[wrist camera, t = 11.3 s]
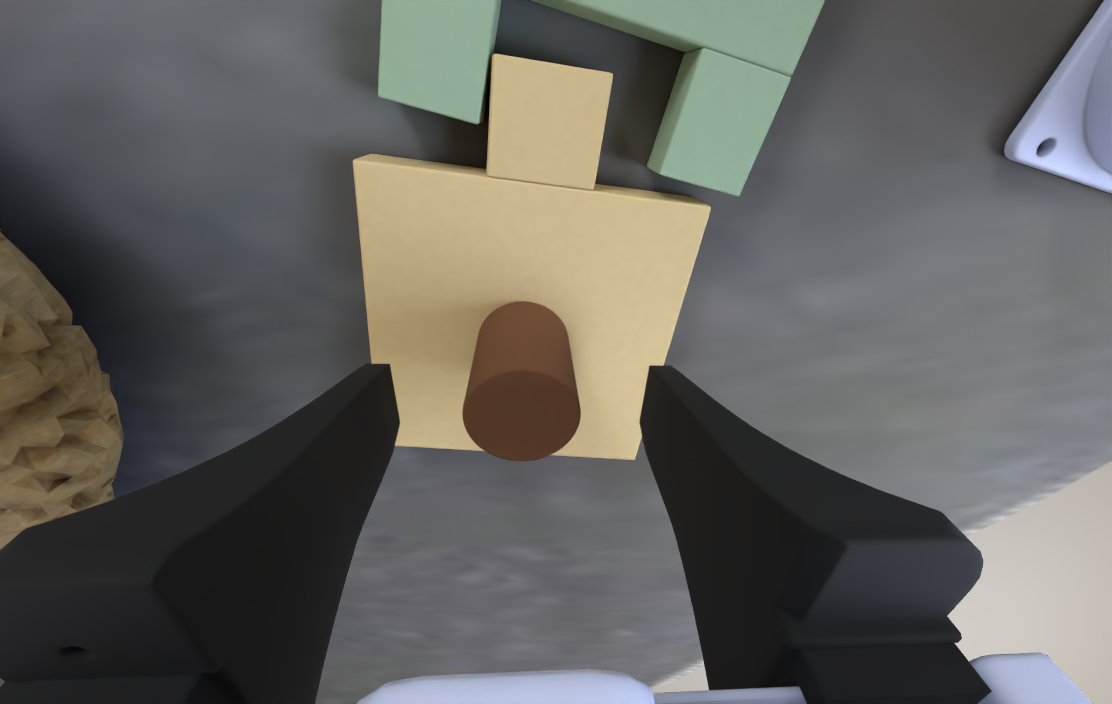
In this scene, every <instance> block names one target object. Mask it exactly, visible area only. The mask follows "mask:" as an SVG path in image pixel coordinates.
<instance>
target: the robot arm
mask: <svg viewBox="0 0 1112 704" xmlns="http://www.w3.org/2000/svg"><path fill="white" fill-rule="evenodd" d="M1041 143H1042V145H1041V147H1040V148H1039V150H1038V151H1037V148H1038V146H1039V145H1040V144H1041ZM1004 153H1005V157H1007V158H1008V159H1010V160H1013V161H1016V162H1019V163H1022V164H1025V165H1028V166H1031V167H1034V168H1037V169H1040V170H1043V171H1046V172H1049V173H1052V174H1055V175H1058V176H1061V177H1064V178H1067V179H1070V180H1073V181H1076V182H1079V183H1082V184H1085V185H1088V186H1091V187H1094V188H1097V189H1100V190H1103V191H1106V192H1109V193H1111V194H1112V0H1104V1H1103V2H1102V4H1101V5H1100V7H1099V8H1098V10H1097V11H1096V13H1095V14H1094V15H1093V17H1092V18H1091V20H1090V21H1089V23H1088V24H1087V26H1086V27H1085V28H1084V30H1083V31H1082V33H1081V34H1080V36H1079V37H1078V39H1077V40H1076V41H1075V43H1074V44H1073V46H1072V47H1071V49H1070V50H1069V51H1068V53H1067V54H1066V56H1065V57H1064V59H1063V60H1062V62H1061V63H1060V64H1059V66H1058V67H1057V69H1056V70H1055V72H1054V73H1053V75H1052V76H1051V77H1050V79H1049V80H1048V82H1047V83H1046V85H1045V86H1044V88H1043V89H1042V90H1041V92H1040V93H1039V95H1038V96H1037V98H1036V99H1035V101H1034V102H1033V103H1032V105H1031V106H1030V108H1029V109H1028V111H1027V112H1026V114H1025V115H1024V116H1023V118H1022V119H1021V121H1020V122H1019V124H1018V125H1017V126H1016V128H1015V129H1014V131H1013V132H1012V134H1011V135H1010V137H1009V138H1008V140H1007V142H1006V144H1005V148H1004ZM639 423H640V428H641V433H642V438H643V443H644V447H645V451H646V455H647V457H648V460H649V463H650V466H651V469H652V471H653V474H654V477H655V480H656V482H657V485H658V488H659V490H660V493H661V496H662V498H663V501H664V504H665V507H666V509H667V512H668V515H669V517H670V520H671V523H672V526H673V529H674V533H675V536H676V540H677V544H678V548H679V552H680V555H681V559H682V563H683V567H684V571H685V576H686V580H687V584H688V589H689V593H690V597H691V602H692V606H693V611H694V615H695V620H696V625H697V630H698V635H699V640H700V644H701V649H702V654H703V660H704V665H705V670H706V676H707V681H708V686H709V691H687V692H665V693H653V692H652V689H651V688H650V687H649V686H647V685H646V684H645V683H644V682H642V681H640V680H638V679H636V678H634V677H632V676H630V675H628V674H626V673H624V672H619V671H608V670H598V669H575V670H551V671H528V672H504V673H481V674H457V675H433V676H420V677H414V678H408V679H403V680H397V681H391V682H388V683H386V684H385V685H383V686H381V687H380V688H378V689H376V690H375V691H373V692H371V693H369V694H368V695H366V696H365V697H364V698H363V699H361V700H360V701H359V702H357V704H1093V703H1092V702H1091V701H1090V700H1089V699H1088V698H1087V697H1086V696H1085V695H1084V694H1083V693H1082V692H1081V691H1080V689H1078V687H1077V686H1076V685H1075V684H1074V683H1073V682H1072V681H1071V680H1070V679H1069V678H1068V677H1067V676H1066V675H1065V673H1064V672H1063V671H1062V670H1061V669H1060V668H1059V667H1058V666H1057V665H1056V664H1055V663H1054V662H1053V661H1052V660H1051V658H1050V657H1049V656H1048V655H1045V654H1042V653H1019V654H998V655H997V654H995V655H986V656H981V657H978V658H976V659H973V660H971V661H968V660H967V659H966V657H965V656H964V655H963V654H962V652H961V651H960V650H959V649H958V647H957V646H956V645H955V643H958V642H959V641H960V640H961V639H962V637H961V633H960V632H959V630H958V629H957V628H956V627H955V625H954V624H953V623H952V622H951V621H950V620H949V618H948V617H947V615H948V614H949V613H950V612H951V611H952V610H953V609H954V608H955V606H956V605H957V604H958V603H959V602H960V601H961V600H962V599H963V598H964V597H965V596H966V594H967V593H968V592H969V591H970V590H971V589H972V588H973V586H974V585H975V583H976V582H977V580H978V579H979V578H980V575H981V571H982V567H983V558H982V555H981V552H980V551H979V550H978V549H977V548H976V547H975V546H974V545H973V543H972V542H971V541H969V539H968V538H967V537H966V536H965V535H964V534H963V533H962V532H961V531H960V530H959V529H958V528H957V527H956V526H955V525H954V524H953V523H952V522H951V521H950V520H949V519H948V518H947V517H946V516H945V515H944V514H943V513H942V512H940V511H938V510H935V509H932V508H929V507H926V506H923V505H920V504H917V503H915V502H912V501H909V500H906V499H903V498H900V497H897V496H894V495H892V494H889V493H886V492H883V491H881V490H878V489H875V488H873V487H871V486H868V485H866V484H863V483H861V482H858V481H856V480H853V479H851V478H849V477H846V476H844V475H842V474H840V473H837V472H835V471H833V470H831V469H828V468H826V467H824V466H822V465H820V464H818V463H816V462H814V461H812V460H810V459H808V458H806V457H804V456H802V455H800V454H798V453H796V452H794V451H792V450H791V449H789V448H787V447H785V446H783V445H782V444H780V443H778V442H777V441H775V440H773V439H771V438H770V437H768V436H766V435H765V434H763V433H761V432H760V431H758V430H757V429H755V428H753V427H752V426H750V425H749V424H747V423H746V422H745V421H743V420H742V419H740V418H739V417H737V416H736V415H734V414H733V413H732V412H730V411H729V410H727V409H726V408H725V407H723V406H722V405H721V404H719V403H718V402H717V401H715V400H714V399H713V398H712V397H710V396H709V395H708V394H706V393H705V392H704V391H703V390H701V389H700V388H699V387H698V386H696V385H695V384H694V383H693V382H691V381H690V380H689V379H688V378H686V377H685V376H684V375H683V374H681V373H680V372H679V371H677V370H676V369H675V368H673V367H672V366H661V365H649V370H648V376H647V381H646V387H645V393H644V398H643V404H642V409H641V415H640V420H639ZM399 426H400V418H399V412H398V407H397V401H396V395H395V390H394V384H393V379H392V373H391V367H390V364H371V363H367V364H365V365H364V366H362V367H360V368H359V369H357V370H356V371H355V372H353V373H352V374H350V375H349V376H347V377H346V378H345V379H343V380H342V381H340V382H339V383H338V384H336V385H335V386H333V387H332V388H331V389H329V390H328V391H326V392H325V393H324V394H322V395H321V396H319V397H318V398H316V399H315V400H314V401H312V402H311V403H309V404H308V405H306V406H305V407H303V408H301V409H300V410H298V411H297V412H295V413H294V414H292V415H291V416H289V417H287V418H286V419H284V420H283V421H281V422H280V423H278V424H276V425H275V426H273V427H271V428H270V429H268V430H266V431H265V432H263V433H261V434H259V435H258V436H256V437H254V438H252V439H250V440H248V441H246V442H245V443H243V444H241V445H239V446H237V447H235V448H233V449H231V450H229V451H227V452H225V453H223V454H221V455H219V456H217V457H214V458H212V459H210V460H208V461H206V462H204V463H201V464H199V465H197V466H195V467H193V468H191V469H188V470H186V471H184V472H182V473H180V474H177V475H175V476H173V477H170V478H168V479H165V480H163V481H160V482H158V483H155V484H153V485H150V486H148V487H145V488H143V489H140V490H137V491H135V492H132V493H130V494H127V495H124V496H122V497H119V498H116V499H113V500H111V501H108V502H105V503H102V504H99V505H96V506H93V507H90V508H87V509H84V510H81V511H78V512H75V513H72V514H69V515H66V516H63V517H60V518H57V519H54V520H51V521H48V522H45V523H41V524H38V525H35V526H32V527H28V528H26V529H24V530H23V531H22V532H20V533H19V534H18V535H17V536H16V537H15V538H13V539H12V540H11V541H10V542H9V543H8V544H6V545H5V546H4V547H3V548H2V549H1V550H0V678H1V679H3V680H4V681H6V682H5V683H4V684H3V685H2V686H1V687H0V704H315V700H316V696H317V691H318V687H319V682H320V678H321V673H322V669H323V665H324V661H325V657H326V653H327V649H328V645H329V641H330V637H331V633H332V629H333V624H334V620H335V617H336V613H337V609H338V606H339V602H340V598H341V595H342V591H343V587H344V584H345V580H346V577H347V573H348V570H349V566H350V563H351V560H352V556H353V553H354V550H355V546H356V543H357V540H358V537H359V535H360V532H361V529H362V526H363V524H364V522H365V519H366V517H367V514H368V512H369V510H370V507H371V505H372V502H373V500H374V498H375V495H376V493H377V490H378V488H379V486H380V483H381V481H382V478H383V476H384V474H385V471H386V469H387V466H388V464H389V461H390V459H391V456H392V453H393V450H394V446H395V442H396V439H397V434H398V430H399Z"/></svg>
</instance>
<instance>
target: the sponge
mask: <svg viewBox="0 0 1112 704" xmlns="http://www.w3.org/2000/svg"><path fill="white" fill-rule="evenodd" d="M123 439H124V433H123V429H122V426H121V422H120V418H119V412H118V407H117V402H116V400H115V399H114V397H113V395H112V393H111V391H110V379H109V374H108V373H106V372H103V371H101V369H100V366H99V362H98V359H97V350H96V348H95V347H94V345H93V344H92V342H91V340H90V339H89V337H88V336H87V334H86V332H85V331H84V329H83V327H82V326H75V325H72V311H71V309H70V307H69V306H68V304H67V303H66V301H65V299H64V298H63V297H62V296H61V295H60V293H59V292H58V291H57V290H56V289H55V288H54V287H53V286H52V285H51V284H50V282H49V281H48V280H47V279H46V278H45V276H44V275H43V274H42V273H41V271H40V270H39V269H38V268H37V266H36V265H35V264H34V263H33V262H31V261H30V260H29V259H27V257H26V256H25V255H24V254H23V253H22V252H21V251H20V250H19V249H18V248H17V247H16V246H15V245H13V244H12V243H11V242H10V241H9V240H8V239H7V238H6V237H5V236H4V235H3V234H2V233H1V228H0V550H1V549H2V548H3V547H4V546H5V545H6V544H8V543H9V542H10V541H11V540H12V539H13V538H15V537H16V536H17V535H18V534H19V533H20V532H22V531H23V530H24V529H26V528H28V527H32V526H35V525H38V524H41V523H45V522H48V521H51V520H54V519H57V518H60V517H63V516H66V515H69V514H72V513H75V512H78V511H81V510H84V509H87V508H90V507H93V506H96V505H99V504H102V503H105V502H108V501H111V500H113V499H115V497H114V491H113V487H112V482H113V481H114V479H115V478H116V473H117V467H118V464H119V460H120V456H121V451H122V446H123Z"/></svg>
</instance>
